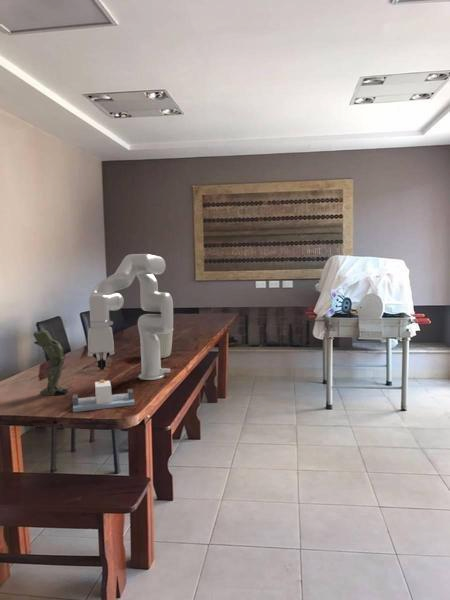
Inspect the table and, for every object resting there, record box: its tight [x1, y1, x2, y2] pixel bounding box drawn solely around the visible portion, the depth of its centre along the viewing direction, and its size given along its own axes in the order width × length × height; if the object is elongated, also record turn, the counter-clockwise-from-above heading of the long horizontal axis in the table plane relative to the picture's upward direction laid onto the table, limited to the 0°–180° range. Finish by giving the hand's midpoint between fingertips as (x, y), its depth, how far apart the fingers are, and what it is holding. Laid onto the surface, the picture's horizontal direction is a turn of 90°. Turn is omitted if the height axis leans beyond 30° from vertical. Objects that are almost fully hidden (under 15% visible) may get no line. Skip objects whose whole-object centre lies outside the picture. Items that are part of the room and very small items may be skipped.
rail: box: [72, 388, 135, 407], centre depth 196 cm, size 24×5×3 cm, turn 107°
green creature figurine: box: [32, 329, 69, 396], centre depth 212 cm, size 14×7×30 cm, turn 92°
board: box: [72, 398, 136, 413], centre depth 196 cm, size 24×12×2 cm, turn 107°
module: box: [94, 379, 113, 404], centre depth 196 cm, size 6×8×8 cm
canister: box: [156, 328, 174, 359], centre depth 284 cm, size 18×18×21 cm
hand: (101, 369), depth 195 cm, fingers closed
